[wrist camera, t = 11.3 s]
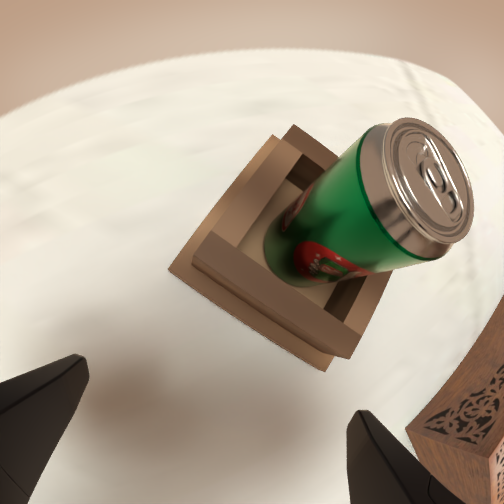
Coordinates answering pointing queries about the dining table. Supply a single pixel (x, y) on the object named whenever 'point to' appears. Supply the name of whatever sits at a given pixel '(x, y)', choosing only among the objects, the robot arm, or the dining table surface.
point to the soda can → (375, 208)
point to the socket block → (258, 269)
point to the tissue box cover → (468, 422)
